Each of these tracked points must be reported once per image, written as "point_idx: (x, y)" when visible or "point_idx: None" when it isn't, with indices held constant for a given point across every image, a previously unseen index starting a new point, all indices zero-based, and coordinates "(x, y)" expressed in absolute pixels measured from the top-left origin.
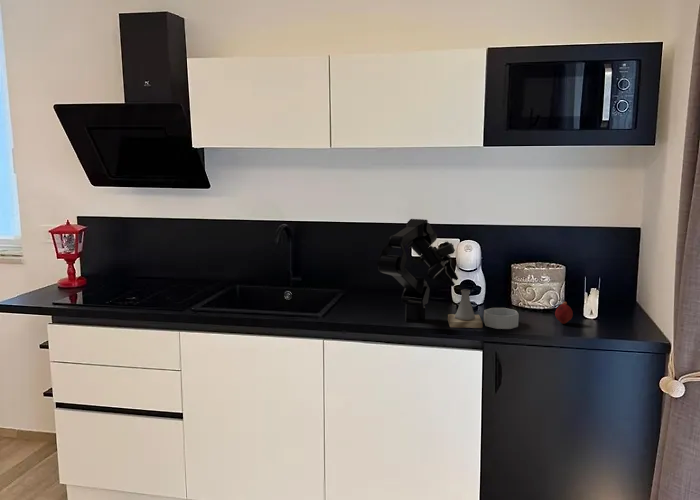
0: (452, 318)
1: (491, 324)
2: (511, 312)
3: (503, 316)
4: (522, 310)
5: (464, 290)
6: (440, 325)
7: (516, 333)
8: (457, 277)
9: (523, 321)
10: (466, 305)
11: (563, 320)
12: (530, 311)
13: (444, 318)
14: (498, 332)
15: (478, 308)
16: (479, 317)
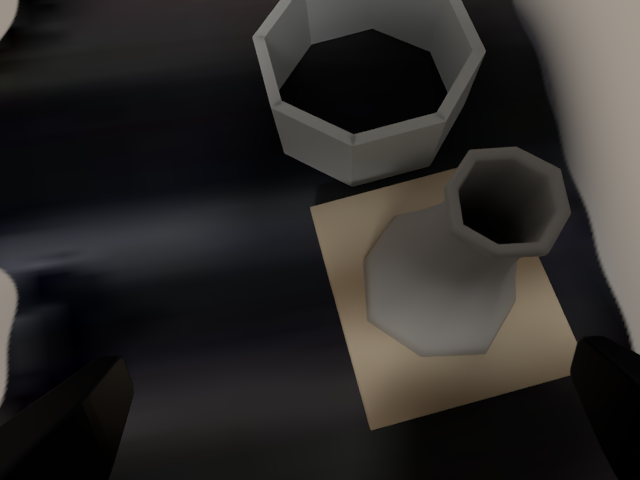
0: (485, 369)
1: (452, 122)
2: (293, 14)
3: (469, 20)
4: (37, 41)
5: (459, 223)
6: (548, 452)
7: (507, 12)
8: (111, 368)
9: (263, 12)
10: (509, 232)
11: None
12: (53, 7)
13: (340, 459)
14: (532, 87)
15: (14, 267)
16: (380, 193)
